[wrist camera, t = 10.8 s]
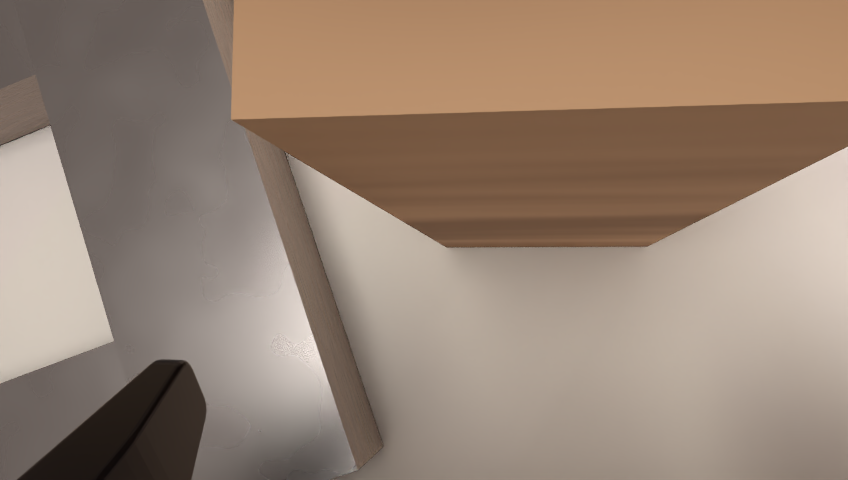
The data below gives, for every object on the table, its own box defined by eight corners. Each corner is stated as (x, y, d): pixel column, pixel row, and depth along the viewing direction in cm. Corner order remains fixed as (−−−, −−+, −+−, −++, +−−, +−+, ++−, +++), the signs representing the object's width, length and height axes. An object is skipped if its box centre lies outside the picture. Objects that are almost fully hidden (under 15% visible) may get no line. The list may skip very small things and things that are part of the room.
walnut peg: (647, 246, 17) (946, 98, 5) (446, 247, 18) (231, 119, 5) (643, 49, 17) (912, -585, 5) (447, 57, 18) (246, -487, 6)
